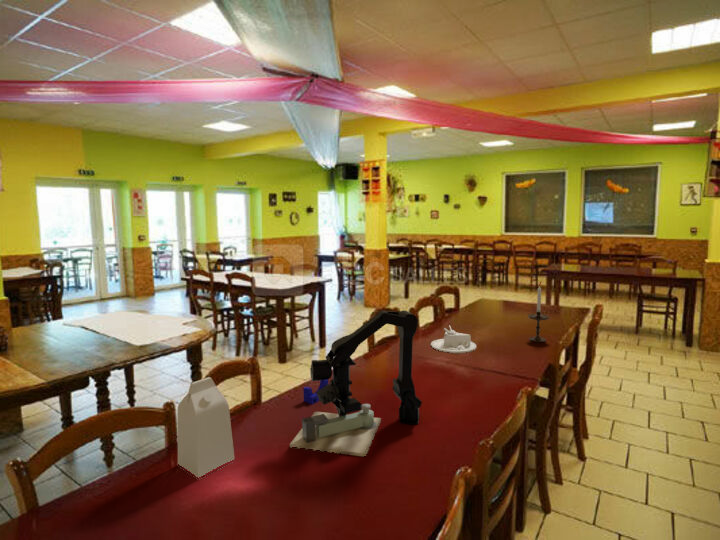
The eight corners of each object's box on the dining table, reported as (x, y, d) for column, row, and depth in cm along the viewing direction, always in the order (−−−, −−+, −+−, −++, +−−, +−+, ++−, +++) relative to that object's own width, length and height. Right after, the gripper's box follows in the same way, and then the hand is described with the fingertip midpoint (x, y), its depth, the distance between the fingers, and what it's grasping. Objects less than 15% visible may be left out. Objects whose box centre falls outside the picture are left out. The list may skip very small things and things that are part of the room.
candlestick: (549, 339, 254) (551, 280, 249) (545, 344, 245) (548, 282, 240) (529, 336, 260) (531, 278, 255) (525, 341, 250) (527, 281, 246)
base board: (380, 420, 156) (380, 417, 156) (365, 456, 133) (365, 453, 133) (315, 414, 163) (315, 410, 162) (289, 447, 139) (289, 443, 139)
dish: (428, 351, 235) (428, 331, 234) (434, 339, 259) (434, 320, 257) (475, 355, 228) (475, 334, 227) (476, 342, 252) (477, 323, 250)
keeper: (324, 432, 147) (323, 413, 146) (328, 437, 143) (327, 418, 142) (302, 437, 144) (302, 418, 143) (306, 442, 140) (306, 423, 139)
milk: (213, 448, 139) (208, 370, 136) (234, 461, 132) (230, 378, 129) (177, 465, 130) (171, 382, 127) (198, 479, 123) (192, 391, 120)
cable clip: (312, 404, 171) (311, 390, 170) (303, 402, 174) (303, 387, 173) (331, 394, 181) (331, 380, 180) (323, 391, 183) (322, 378, 183)
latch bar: (369, 418, 155) (369, 401, 154) (376, 424, 150) (376, 407, 150) (315, 432, 146) (314, 413, 145) (320, 439, 141) (320, 420, 140)
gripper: (309, 372, 153) (310, 414, 155) (330, 392, 136) (331, 439, 139) (338, 367, 158) (338, 407, 160) (362, 385, 141) (362, 430, 144)
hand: (341, 420), depth 150 cm, fingers closed
